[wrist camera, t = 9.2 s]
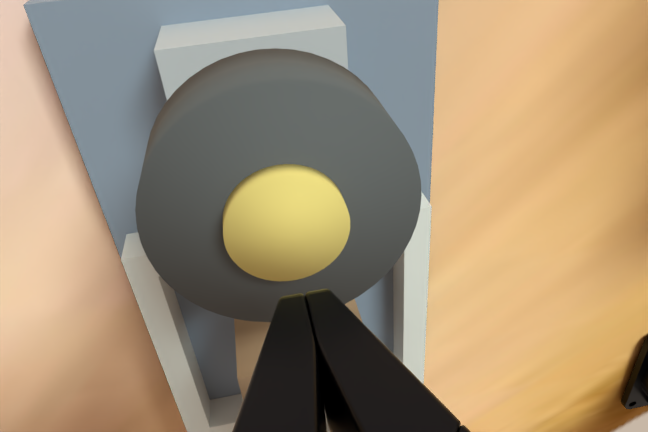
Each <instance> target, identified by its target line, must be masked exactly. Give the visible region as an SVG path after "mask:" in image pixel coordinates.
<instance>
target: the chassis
mask: <svg viewBox="0 0 648 432" xmlns="http://www.w3.org/2000/svg"><path fill="white" fill-rule="evenodd" d="M24 8H25V10H26V13H27V16H28V18H29V21H30V23H31V26H32V29H33V31H34V34H35V36H36V39H37V42H38V44H39V47H40V49H41V52H42V55H43V57H44V60H45V62H46V65H47V68H48V70H49V73H50V75H51V78H52V81H53V83H54V86H55V88H56V91H57V94H58V96H59V99H60V101H61V104H62V107H63V109H64V112H65V114H66V117H67V120H68V122H69V125H70V127H71V130H72V133H73V135H74V138H75V140H76V143H77V146H78V148H79V151H80V153H81V156H82V159H83V161H84V164H85V166H86V169H87V172H88V174H89V177H90V179H91V182H92V185H93V187H94V190H95V193H96V195H97V198H98V200H99V203H100V206H101V208H102V211H103V213H104V216H105V219H106V221H107V224H108V226H109V229H110V232H111V234H112V237H113V239H114V242H115V245H116V247H117V250H118V252H119V255H120V258H121V261H122V264H123V267H124V269H125V272H126V274H127V277H128V280H129V282H130V285H131V287H132V290H133V293H134V295H135V298H136V300H137V303H138V306H139V308H140V311H141V313H142V316H143V319H144V321H145V324H146V326H147V329H148V332H149V334H150V337H151V339H152V342H153V345H154V347H155V350H156V352H157V355H158V358H159V360H160V363H161V365H162V368H163V371H164V373H165V376H166V378H167V381H168V383H169V386H170V389H171V391H172V394H173V396H174V399H175V402H176V404H177V407H178V409H179V412H180V415H181V417H182V420H183V422H184V425H185V428H186V430H187V432H232V431H233V428H234V425H235V422H236V419H237V417H238V414H239V411H240V408H241V405H242V402H243V398H242V394H241V390H240V387H239V383H238V379H237V362H236V344H235V326H234V318H230V317H226V316H222V315H219V314H216V313H214V312H211V311H208V310H206V309H204V308H202V307H200V306H198V305H196V304H194V303H192V302H190V301H189V300H187V299H186V298H184V297H183V296H181V295H180V294H178V293H177V292H176V291H175V290H174V289H173V288H171V287H170V286H169V285H168V284H167V283H166V282H165V281H164V280H163V279H162V277H161V276H160V275H159V274H158V273H157V272H156V270H155V269H154V267H153V266H152V264H151V263H150V261H149V259H148V258H147V256H146V253H145V251H144V249H143V247H142V244H141V242H140V238H139V234H138V230H137V224H136V214H135V207H136V194H137V189H138V185H139V180H140V176H141V171H142V167H143V162H144V158H145V153H146V149H147V144H148V140H149V136H150V132H151V130H152V127H153V125H154V122H155V120H156V118H157V116H158V114H159V113H160V111H161V109H162V108H163V106H164V104H165V103H166V102H167V100H168V99H169V98H170V97H171V95H172V94H173V93H174V92H175V91H176V89H178V88H179V87H180V86H181V85H182V84H183V83H184V82H185V81H186V80H187V79H188V78H190V77H191V76H193V75H194V74H196V73H197V72H198V71H200V70H201V69H203V68H204V67H206V66H208V65H210V64H212V63H214V62H216V61H218V60H220V59H223V58H226V57H229V56H232V55H235V54H238V53H242V52H247V51H252V50H257V49H272V48H279V49H294V50H299V51H304V52H309V53H313V54H315V55H318V56H321V57H324V58H327V59H329V60H331V61H333V62H335V63H337V64H339V65H341V66H343V67H344V68H346V69H347V70H349V71H350V72H352V73H353V74H354V75H356V76H357V77H358V78H359V79H360V80H361V81H362V82H363V83H364V84H366V85H367V86H368V87H369V89H370V90H371V91H372V92H373V94H374V95H375V96H376V98H377V99H378V100H379V102H380V103H381V104H382V106H383V107H384V108H385V110H386V111H387V113H388V114H389V115H390V117H391V118H392V120H393V121H394V122H395V124H396V125H397V127H398V128H399V129H400V131H401V132H402V133H403V135H404V136H405V138H406V140H407V142H408V143H409V145H410V147H411V149H412V151H413V153H414V156H415V159H416V162H417V164H418V169H419V174H420V179H421V195H422V196H421V206H420V213H419V217H418V221H417V225H416V227H415V230H414V232H413V235H412V237H411V240H410V242H409V243H408V245H407V247H406V249H405V250H404V252H403V254H402V255H401V257H400V258H399V259H398V261H397V262H396V263H395V265H394V266H393V267H392V268H391V269H390V270H389V271H388V272H387V274H386V275H385V276H384V277H383V278H382V279H380V280H379V281H378V282H377V283H376V284H375V285H374V286H372V287H371V288H370V289H368V290H367V291H366V292H364V293H363V294H361V295H360V296H358V297H357V298H355V301H356V304H357V307H358V310H359V313H360V316H361V319H362V322H363V324H364V325H365V326H366V327H367V328H368V329H369V330H370V331H371V332H372V333H373V334H374V335H375V336H376V337H377V338H378V339H379V340H380V341H381V342H382V343H383V344H384V345H385V346H386V347H387V348H388V349H389V350H390V351H391V352H392V353H393V354H394V355H395V356H396V357H397V358H398V359H399V360H400V361H401V362H402V363H403V364H404V365H405V366H406V367H407V368H408V369H409V370H410V371H411V372H412V373H413V374H414V375H415V376H416V377H417V378H418V379H419V380H420V381H421V382H422V383H424V361H425V339H426V317H427V296H428V274H429V252H430V230H431V208H432V207H431V205H430V184H431V161H432V138H433V115H434V91H435V68H436V45H437V22H438V0H29V1H28V2H27V3H25V4H24Z"/></svg>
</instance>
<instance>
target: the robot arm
mask: <svg viewBox="0 0 648 432" xmlns="http://www.w3.org/2000/svg"><path fill="white" fill-rule="evenodd" d="M621 403H622V404H623V405H624V407H625V408H626V409H632V408H637V407H641V406H646V405H648V337H647V338H646V339H645V341H644V343H643V346H642V348H641V351H640V354H639V356H638V359H637V361H636V364H635V366H634V369H633V372H632V374H631V377H630V379H629V382H628V384H627V387H626V389H625V392H624V395H623V397H622V400H621ZM325 414H326V417H325ZM326 418H327V423H328V426H329V429H330V432H470V431H469V430H468V429H467V428H466V427H465V426H464V425H462V426H460V425H461V423H460V421H459V420H458V419H457V418H456V417H455V416H454V415H453V414H452V413H451V412H450V411H449V410H448V409H447V408H446V407H445V406H444V405H443V404H442V403H441V402H440V401H439V400H438V399H437V398H436V397H435V395H434V394H433V393H432V392H431V391H430V390H429V389H428V388H427V387H426V386H425V385H424V384H423V383H422V382H421V381H420V380H419V379H418V378H417V377H416V376H415V375H414V374H413V373H412V372H411V371H410V370H409V369H408V368H407V367H406V366H405V365H404V364H403V363H402V362H401V361H400V360H399V359H398V358H397V357H396V356H395V355H394V354H393V353H392V352H391V351H390V350H389V349H388V348H387V347H386V346H385V345H384V344H383V343H382V342H381V341H380V340H379V339H378V338H377V337H376V336H375V335H374V334H373V333H372V332H371V331H370V330H369V329H368V328H367V327H366V326H365V325H364V324H363V322H362V321H361V320H360V319H359V318H358V317H357V316H356V315H355V314H354V313H353V312H352V311H351V310H350V309H349V308H348V307H347V306H346V305H345V304H344V303H343V302H342V301H341V300H340V299H339V298H338V297H337V296H336V295H335V294H334V293H333V292H332V291H331V290H329V289H321V290H315V291H310V292H307V293H306V295H305V296H304V295H303V294H302V293H299V294H293V295H288V296H283V297H281V298H280V299H279V301H278V303H277V306H276V309H275V312H274V314H273V317H272V320H271V323H270V326H269V329H268V331H267V334H266V337H265V340H264V343H263V346H262V349H261V351H260V354H259V357H258V360H257V363H256V366H255V368H254V371H253V374H252V377H251V380H250V383H249V385H248V388H247V391H246V394H245V397H244V400H243V402H242V405H241V408H240V411H239V414H238V417H237V419H236V422H235V425H234V428H233V431H232V432H327V425H326Z"/></svg>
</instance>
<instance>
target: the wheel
mask: <svg viewBox="0 0 648 432" xmlns="http://www.w3.org/2000/svg"><path fill="white" fill-rule="evenodd" d="M421 196H422V195H421V179H420V174H419V169H418V164H417V162H416V159H415V156H414V153H413V151H412V149H411V147H410V145H409V143H408V142H407V140H406V138H405V136H404V135H403V133H402V132H401V131H400V129H399V128H398V127H397V125H396V124H395V122H394V121H393V120H392V118H391V117H390V115H389V114H388V113H387V111H386V110H385V108H384V107H383V106H382V104H381V103H380V102H379V100H378V99H377V98H376V96H375V95H374V94H373V92H372V91H371V90H370V89H369V87H368V86H367V85H366V84H364V83H363V82H362V81H361V80H360V79H359V78H358V77H357V76H356V75H354V74H353V73H352V72H350V71H349V70H347V69H346V68H344V67H343V66H341V65H339V64H337V63H335V62H333V61H331V60H329V59H327V58H324V57H321V56H318V55H315V54H313V53H309V52H304V51H299V50H294V49H279V48H272V49H257V50H252V51H247V52H242V53H238V54H235V55H232V56H229V57H226V58H223V59H220V60H218V61H216V62H214V63H212V64H210V65H208V66H206V67H204V68H203V69H201V70H200V71H198V72H197V73H196V74H194V75H193V76H191V77H190V78H188V79H187V80H186V81H185V82H184V83H183V84H182V85H181V86H180V87H179V88H178V89H176V91H175V92H174V93H173V94H172V95H171V97H170V98H169V99H168V100H167V102H166V103H165V104H164V106H163V108H162V109H161V111H160V113H159V114H158V116H157V118H156V120H155V122H154V125H153V127H152V130H151V132H150V136H149V140H148V144H147V149H146V153H145V158H144V162H143V167H142V171H141V176H140V180H139V185H138V189H137V194H136V207H135V214H136V224H137V230H138V234H139V238H140V242H141V244H142V247H143V249H144V251H145V253H146V256H147V258H148V259H149V261H150V263H151V264H152V266H153V267H154V269H155V270H156V272H157V273H158V274H159V275H160V276H161V277H162V279H163V280H164V281H165V282H166V283H167V284H168V285H169V286H170V287H171V288H173V289H174V290H175V291H176V292H177V293H178V294H180V295H181V296H183V297H184V298H186V299H187V300H189V301H190V302H192V303H194V304H196V305H198V306H200V307H202V308H204V309H206V310H208V311H211V312H214V313H216V314H219V315H222V316H226V317H230V318H234V319H239V320H246V321H254V322H271V320H272V317H273V314H274V312H275V309H276V306H277V303H278V301H279V299H280V298H281V297H283V296H288V295H293V294H299V293H302V294H303V295H304V296H305V295H306V293H307V292H310V291H315V290H321V289H329V290H331V291H332V292H333V293H334V294H335V295H336V296H337V297H338V298H339V299H340V300H341V301H342V302H343V303H344V304H346V303H348V302H349V301H351V300H353V299H355V298H357V297H358V296H360V295H361V294H363V293H364V292H366V291H367V290H368V289H370V288H371V287H372V286H374V285H375V284H376V283H377V282H378V281H379V280H380V279H382V278H383V277H384V276H385V275H386V274H387V272H388V271H389V270H390V269H391V268H392V267H393V266H394V265H395V263H396V262H397V261H398V259H399V258H400V257H401V255H402V254H403V252H404V250H405V249H406V247H407V245H408V243H409V242H410V240H411V237H412V235H413V232H414V230H415V227H416V225H417V221H418V217H419V213H420V206H421Z"/></svg>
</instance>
